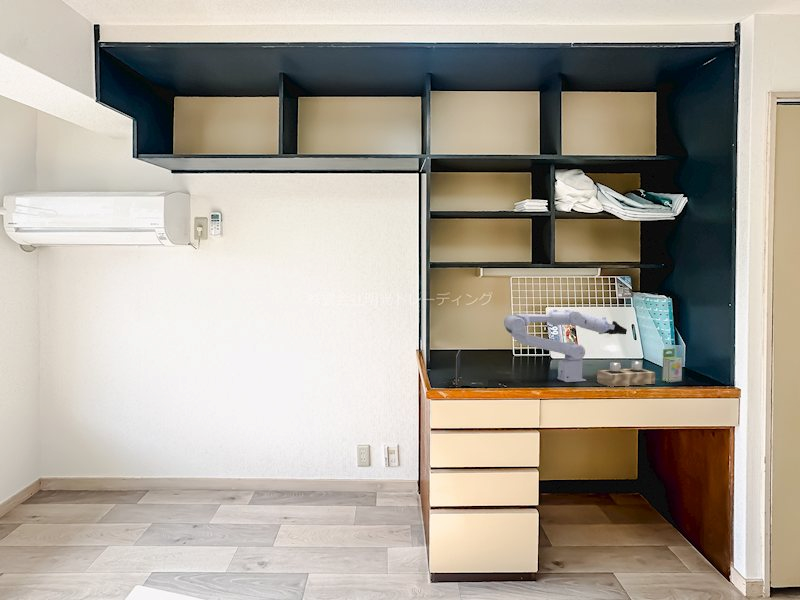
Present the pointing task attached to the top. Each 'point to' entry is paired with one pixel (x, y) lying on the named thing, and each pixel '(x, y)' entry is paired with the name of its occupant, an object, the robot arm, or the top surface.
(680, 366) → the ink box
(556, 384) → the top surface
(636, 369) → the right steel peg
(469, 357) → the top surface
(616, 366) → the left steel peg
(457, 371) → the laptop
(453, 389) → the top surface
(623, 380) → the maple peg block
